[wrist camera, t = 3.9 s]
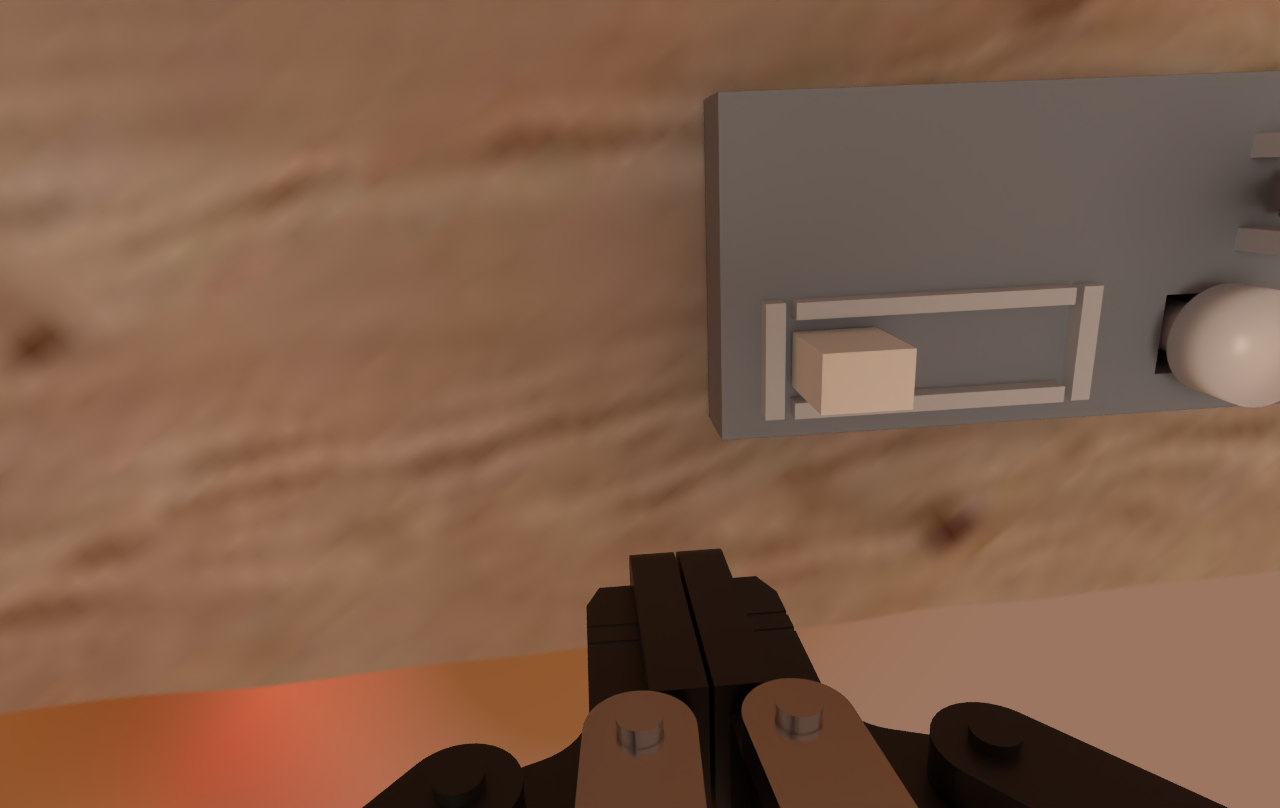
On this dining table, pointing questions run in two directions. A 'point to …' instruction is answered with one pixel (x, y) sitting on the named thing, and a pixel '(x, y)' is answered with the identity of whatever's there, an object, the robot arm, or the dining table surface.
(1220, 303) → the push button
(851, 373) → the slider knob
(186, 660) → the dining table surface
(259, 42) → the dining table surface
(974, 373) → the panel
